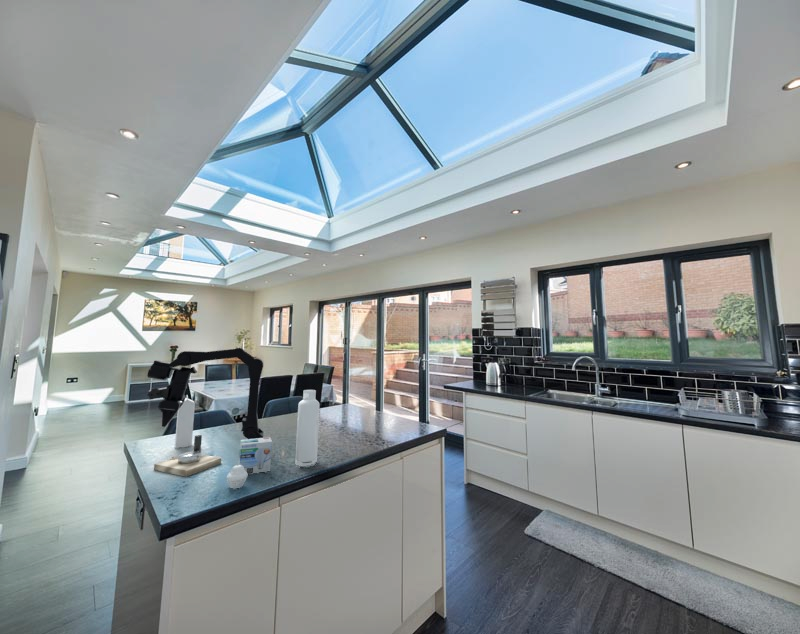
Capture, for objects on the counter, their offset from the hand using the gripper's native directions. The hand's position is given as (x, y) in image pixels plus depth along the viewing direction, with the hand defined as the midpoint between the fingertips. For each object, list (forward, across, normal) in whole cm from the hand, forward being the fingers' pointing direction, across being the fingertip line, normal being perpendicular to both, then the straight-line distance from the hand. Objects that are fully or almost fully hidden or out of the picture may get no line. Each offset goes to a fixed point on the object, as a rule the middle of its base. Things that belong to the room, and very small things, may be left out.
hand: (165, 423), depth 124 cm
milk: (+14, -23, +7) cm, 28 cm away
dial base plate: (+13, +7, +12) cm, 19 cm away
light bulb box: (+8, +21, +33) cm, 40 cm away
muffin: (+9, +34, +27) cm, 44 cm away
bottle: (+4, +21, +51) cm, 55 cm away
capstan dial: (+10, +5, +12) cm, 17 cm away
